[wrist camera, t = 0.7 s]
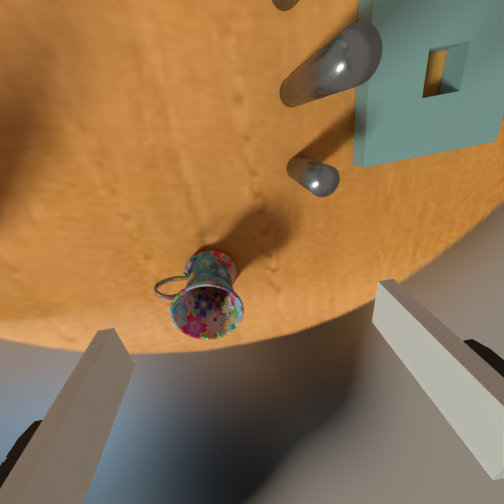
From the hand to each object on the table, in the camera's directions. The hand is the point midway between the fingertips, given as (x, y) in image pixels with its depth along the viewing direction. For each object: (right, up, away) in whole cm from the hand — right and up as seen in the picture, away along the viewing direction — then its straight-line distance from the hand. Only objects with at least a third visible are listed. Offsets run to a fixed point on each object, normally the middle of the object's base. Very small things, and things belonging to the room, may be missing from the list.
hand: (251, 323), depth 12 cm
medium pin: (+6, +16, +21) cm, 27 cm away
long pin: (+5, +23, +17) cm, 29 cm away
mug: (-8, +1, +27) cm, 28 cm away
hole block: (+22, +26, +18) cm, 38 cm away
